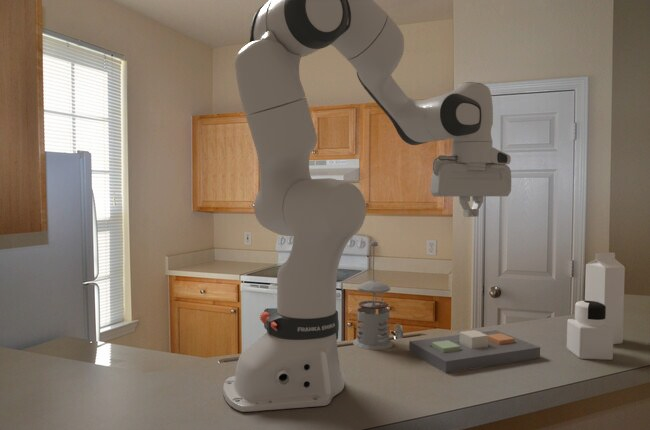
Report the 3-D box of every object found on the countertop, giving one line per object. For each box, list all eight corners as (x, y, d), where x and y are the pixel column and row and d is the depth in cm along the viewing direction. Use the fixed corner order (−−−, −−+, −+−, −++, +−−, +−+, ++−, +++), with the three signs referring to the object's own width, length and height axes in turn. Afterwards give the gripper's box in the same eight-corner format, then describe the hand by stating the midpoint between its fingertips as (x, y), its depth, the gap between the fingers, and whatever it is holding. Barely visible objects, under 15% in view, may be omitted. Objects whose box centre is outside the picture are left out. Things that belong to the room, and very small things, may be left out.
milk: (622, 343, 115) (626, 254, 114) (602, 345, 114) (606, 254, 113) (601, 336, 121) (605, 251, 120) (582, 338, 119) (585, 251, 118)
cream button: (471, 349, 104) (472, 337, 104) (459, 343, 108) (459, 332, 108) (488, 346, 105) (488, 335, 105) (475, 341, 110) (475, 330, 109)
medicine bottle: (597, 349, 111) (599, 299, 110) (613, 360, 104) (615, 306, 103) (566, 348, 111) (567, 298, 111) (579, 359, 104) (580, 305, 104)
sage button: (443, 360, 101) (443, 348, 101) (431, 353, 105) (431, 342, 105) (460, 357, 103) (460, 346, 103) (447, 351, 107) (448, 340, 107)
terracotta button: (498, 352, 107) (499, 340, 106) (485, 346, 111) (485, 335, 111) (514, 349, 108) (514, 338, 108) (500, 344, 112) (500, 333, 112)
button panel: (445, 373, 96) (445, 361, 96) (409, 351, 109) (409, 341, 109) (539, 357, 105) (540, 347, 105) (495, 339, 118) (496, 330, 118)
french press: (348, 347, 112) (348, 242, 110) (360, 333, 123) (361, 237, 121) (389, 352, 108) (390, 243, 107) (398, 337, 119) (399, 239, 118)
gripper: (441, 153, 101) (441, 218, 102) (516, 156, 109) (515, 216, 109) (425, 156, 107) (424, 216, 108) (497, 158, 114) (496, 215, 115)
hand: (470, 216), depth 109 cm, fingers closed
